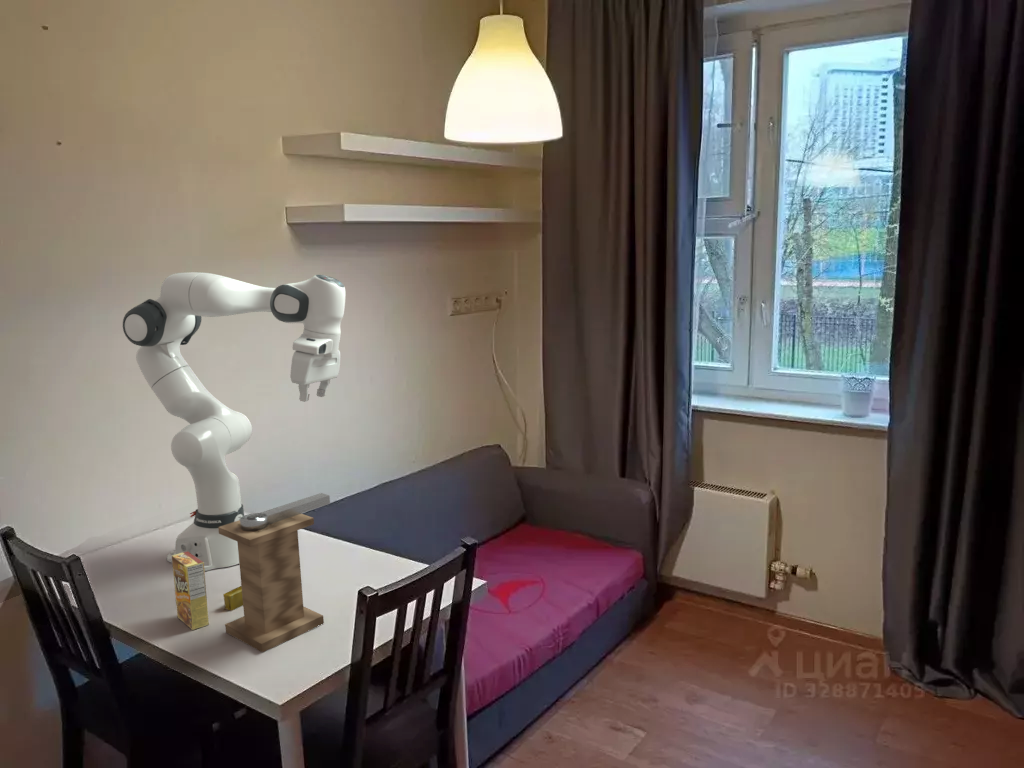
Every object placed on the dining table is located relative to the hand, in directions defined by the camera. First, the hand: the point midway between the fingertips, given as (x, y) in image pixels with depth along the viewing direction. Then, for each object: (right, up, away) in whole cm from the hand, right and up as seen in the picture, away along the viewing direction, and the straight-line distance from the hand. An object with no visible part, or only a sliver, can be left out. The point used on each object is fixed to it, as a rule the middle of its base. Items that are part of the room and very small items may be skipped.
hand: (312, 398), depth 205 cm
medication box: (-15, -49, -3) cm, 51 cm away
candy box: (-24, -51, -14) cm, 58 cm away
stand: (-4, -51, -18) cm, 54 cm away
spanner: (-1, -26, -19) cm, 32 cm away
